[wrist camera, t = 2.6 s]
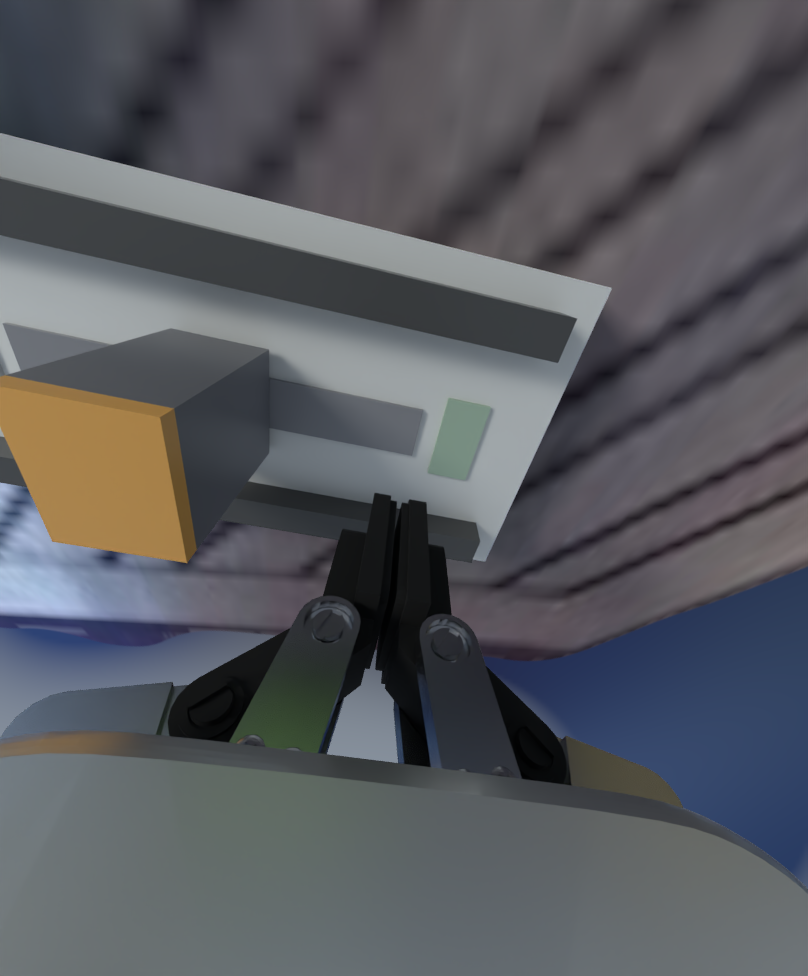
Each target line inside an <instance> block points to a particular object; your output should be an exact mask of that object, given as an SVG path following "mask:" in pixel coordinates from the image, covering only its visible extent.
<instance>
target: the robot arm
mask: <svg viewBox="0 0 808 976" xmlns="http://www.w3.org/2000/svg"><path fill="white" fill-rule="evenodd" d="M396 508H397V501H393V500H391V495H385V494H380V493H374V498H373V503H372V508H371V513H370V518H369V523H368V529H367V533H365V532H359V531H353V530H348V529H342V531H341V535H340V538H339V542H338V545H337V549H336V552H335V556H334V559H333V563H332V566H331V570H330V573H329V577H328V580H327V584H326V587H325V591H324V594H323V596H321V597H318V598H315V599H312V600H311V601H310V602H308V603H307V604H305V605H304V607H303V608H302V609H301V610H300V612H299V614H298V615H297V617H296V619H295V621H294V623H293V625H292V627H291V628H290V629H288V630H286V631H284V632H282V633H280V634H278V635H277V636H275V637H273V638H271V639H269V640H267V641H266V642H264V643H262V644H260V645H258V646H256V647H255V648H253V649H251V650H249V651H247V652H246V653H244V654H242V655H240V656H238V657H236V658H234V659H233V660H231V661H229V662H227V663H225V664H223V665H221V666H220V667H218V668H216V669H214V670H213V671H210V672H208V673H207V674H205V675H203V676H201V677H199V678H198V679H196V680H195V681H193V682H192V683H191V684H189V685H184V686H173V682H166V683H155V684H144V685H134V686H122V687H111V688H101V689H100V688H99V689H89V690H77V691H67V692H62V693H58V694H54V695H50V696H48V697H46V698H44V699H42V700H40V701H38V702H36V703H34V704H32V705H31V706H30V707H28V708H27V709H26V710H24V711H23V712H22V713H20V714H19V715H18V716H17V717H16V718H15V719H14V720H13V721H12V723H11V724H10V725H9V726H8V727H7V728H6V730H5V731H4V732H3V734H2V736H1V737H0V976H808V889H807V887H806V886H805V885H804V884H802V883H801V882H800V881H799V880H798V879H797V878H796V877H795V876H794V875H793V874H792V873H791V872H790V871H789V870H787V869H786V868H785V867H784V866H782V865H781V864H780V863H779V862H777V861H776V860H775V859H773V858H772V857H771V856H770V855H768V854H767V853H766V852H764V851H763V850H761V849H760V848H758V847H757V846H755V845H754V844H752V843H751V842H749V841H748V840H746V839H744V838H742V837H741V836H739V835H737V834H736V833H734V832H732V831H730V830H729V829H727V828H726V827H724V826H722V825H719V824H717V823H716V822H713V821H712V820H710V819H708V818H706V817H704V816H702V815H699V814H697V813H694V812H692V811H689V810H687V809H684V808H683V806H682V804H681V802H680V800H679V798H678V797H677V795H676V794H675V793H674V791H673V790H672V788H671V787H670V786H669V785H668V784H667V783H666V782H665V781H664V780H663V779H662V778H661V777H660V776H659V775H658V774H656V773H654V772H653V771H651V770H649V769H647V768H646V767H643V766H641V765H638V764H636V763H633V762H630V761H628V760H626V759H623V758H621V757H618V756H616V755H613V754H611V753H608V752H605V751H603V750H600V749H597V748H595V747H593V746H590V745H588V744H585V743H583V742H580V741H578V740H575V739H572V738H570V737H568V736H565V737H564V738H563V739H561V738H558V737H556V736H555V734H554V733H553V732H552V731H551V730H550V729H549V727H548V726H547V725H546V724H545V723H544V722H543V721H542V720H541V719H540V718H539V717H538V716H536V714H535V713H534V712H533V711H532V710H531V709H530V708H528V707H527V706H526V705H525V704H524V703H523V702H522V701H521V700H520V699H519V698H518V697H517V696H516V695H515V694H514V693H513V692H512V691H511V690H510V689H509V688H508V687H507V686H506V685H505V684H504V683H503V682H502V681H501V680H500V679H499V678H498V677H497V676H496V675H495V674H494V673H493V672H492V671H491V670H490V669H489V668H487V667H486V665H485V662H484V659H483V656H482V653H481V650H480V646H479V643H478V640H477V638H476V636H475V634H474V632H473V631H472V629H471V628H470V627H469V626H468V625H467V624H466V623H465V622H463V621H462V620H461V619H459V618H457V617H454V616H452V615H451V605H450V595H449V586H448V576H447V567H446V557H445V550H444V547H443V546H437V545H432V544H428V523H427V504H426V502H422V501H417V500H412V499H409V501H408V503H403V502H402V504H401V507H400V512H399V516H398V520H397V524H396V528H395V521H396ZM378 636H379V637H378ZM377 640H378V647H377V656H376V668H375V669H376V670H380V671H382V679H381V680H382V681H381V683H382V684H385V689H386V690H387V691H388V693H389V694H390V695H391V697H392V698H393V699H394V709H393V710H394V721H395V732H396V743H397V756H398V763H392V762H384V761H376V760H368V759H360V758H352V757H344V756H335V755H327V752H328V749H329V746H330V742H331V739H332V736H333V733H334V730H335V726H336V723H337V720H338V717H339V714H340V711H341V708H342V704H343V701H344V697H346V696H347V695H348V694H350V693H351V692H352V691H353V690H355V689H356V688H357V687H359V686H360V685H361V682H362V678H363V674H364V670H365V668H366V669H369V668H370V666H371V662H372V658H373V655H374V651H375V647H376V643H377Z"/></svg>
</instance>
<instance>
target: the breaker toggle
mask: <svg viewBox="0 0 808 976" xmlns="http://www.w3.org/2000/svg"><path fill="white" fill-rule="evenodd" d="M0 428H1V430H2V432H3V435H4V437H5V439H6V441H7V443H8V446H9V448H10V450H11V452H12V454H13V456H14V459H15V461H16V463H17V465H18V467H19V470H20V472H21V474H22V476H23V478H24V480H25V483H26V485H27V487H28V489H29V491H30V494H31V496H32V498H33V500H34V502H35V504H36V507H37V509H38V511H39V513H40V515H41V518H42V520H43V522H44V524H45V526H46V529H47V531H48V533H49V535H50V537H51V539H52V542H58V543H65V544H71V545H77V546H84V547H90V548H96V549H103V550H109V551H115V552H121V553H128V554H134V555H140V556H147V557H153V558H159V559H166V560H172V561H178V562H185V563H187V562H188V561H189V559H190V558H191V557H192V555H193V554H194V553H195V551H196V550H197V549H198V547H199V546H200V545H201V543H202V542H203V541H204V539H205V538H206V537H207V535H208V534H209V533H210V531H211V530H212V529H213V527H214V526H215V525H216V523H217V522H218V521H219V519H220V518H221V517H222V515H223V514H224V513H225V511H226V510H227V509H228V507H229V506H230V505H231V503H232V502H233V501H234V499H235V498H236V497H237V495H238V494H239V493H240V491H241V490H242V489H243V487H244V486H245V485H246V483H247V482H248V481H249V479H250V478H251V477H252V475H253V474H254V473H255V471H256V470H257V469H258V467H259V466H260V465H261V463H262V462H263V461H264V459H265V458H266V457H267V455H268V454H269V349H265V348H260V347H255V346H251V345H246V344H241V343H237V342H232V341H228V340H223V339H218V338H214V337H209V336H204V335H200V334H195V333H191V332H186V331H181V330H177V329H172V328H170V329H166V330H163V331H159V332H156V333H152V334H149V335H145V336H142V337H138V338H135V339H131V340H127V341H124V342H120V343H117V344H113V345H110V346H106V347H103V348H99V349H96V350H92V351H89V352H85V353H82V354H78V355H75V356H71V357H68V358H64V359H61V360H57V361H54V362H50V363H46V364H43V365H39V366H36V367H32V368H29V369H25V370H22V371H18V372H15V373H11V374H8V375H4V376H1V377H0Z"/></svg>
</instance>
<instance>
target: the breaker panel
mask: <svg viewBox="0 0 808 976" xmlns="http://www.w3.org/2000/svg"><path fill="white" fill-rule="evenodd" d="M611 289H612V288H610V287H606V286H602V285H598V284H594V283H590V282H586V281H582V280H578V279H574V278H570V277H566V276H562V275H558V274H555V273H551V272H547V271H543V270H539V269H535V268H531V267H527V266H523V265H519V264H515V263H511V262H507V261H503V260H499V259H495V258H491V257H487V256H484V255H480V254H476V253H472V252H468V251H464V250H460V249H456V248H452V247H448V246H444V245H440V244H436V243H432V242H428V241H424V240H420V239H416V238H413V237H409V236H405V235H401V234H397V233H393V232H389V231H385V230H381V229H377V228H373V227H369V226H365V225H361V224H357V223H353V222H349V221H345V220H341V219H338V218H334V217H330V216H326V215H322V214H318V213H314V212H310V211H306V210H302V209H298V208H294V207H290V206H286V205H282V204H278V203H274V202H270V201H267V200H263V199H259V198H255V197H251V196H247V195H243V194H239V193H235V192H231V191H227V190H223V189H219V188H215V187H211V186H207V185H203V184H199V183H196V182H192V181H188V180H184V179H180V178H176V177H172V176H168V175H164V174H160V173H156V172H152V171H148V170H144V169H140V168H136V167H132V166H128V165H125V164H121V163H117V162H113V161H109V160H105V159H101V158H97V157H93V156H89V155H85V154H81V153H77V152H73V151H69V150H65V149H61V148H57V147H54V146H50V145H46V144H42V143H38V142H34V141H30V140H26V139H22V138H18V137H14V136H10V135H6V134H2V133H0V377H1V376H4V375H8V374H11V373H15V372H18V371H22V370H25V369H29V368H32V367H36V366H39V365H43V364H46V363H50V362H54V361H57V360H61V359H64V358H68V357H71V356H75V355H78V354H82V353H85V352H89V351H92V350H96V349H99V348H103V347H106V346H110V345H113V344H117V343H120V342H124V341H127V340H131V339H135V338H138V337H142V336H145V335H149V334H152V333H156V332H159V331H163V330H166V329H170V328H172V329H177V330H181V331H186V332H191V333H195V334H200V335H204V336H209V337H214V338H218V339H223V340H228V341H232V342H237V343H241V344H246V345H251V346H255V347H260V348H265V349H269V454H268V455H267V457H266V458H265V459H264V461H263V462H262V463H261V465H260V466H259V467H258V469H257V470H256V471H255V473H254V474H253V475H252V477H251V478H250V479H249V481H248V482H247V483H246V485H245V486H244V487H243V489H242V490H241V491H240V493H239V494H238V495H237V497H236V498H235V499H234V501H233V502H232V503H231V505H230V506H229V507H228V509H227V510H226V511H225V513H224V514H223V515H222V517H221V518H220V519H219V520H224V521H230V522H235V523H241V524H247V525H253V526H259V527H265V528H271V529H276V530H282V531H288V532H294V533H300V534H306V535H312V536H318V537H323V538H329V539H335V540H339V538H340V535H341V531H342V529H348V530H353V531H359V532H365V533H367V529H368V523H369V518H370V513H371V508H372V503H373V498H374V493H380V494H385V495H391V500H393V501H397V508H396V521H395V528H396V524H397V520H398V516H399V512H400V507H401V504H402V502H403V503H408V501H409V499H412V500H417V501H422V502H426V504H427V523H428V544H432V545H437V546H443V547H444V550H445V557H446V558H447V559H452V560H458V561H464V562H470V563H471V562H472V560H479V561H486V559H487V556H488V554H489V552H490V550H491V548H492V546H493V544H494V541H495V539H496V537H497V535H498V533H499V531H500V528H501V526H502V524H503V522H504V520H505V518H506V516H507V513H508V511H509V509H510V507H511V505H512V503H513V500H514V498H515V496H516V494H517V492H518V490H519V488H520V485H521V483H522V481H523V479H524V477H525V475H526V472H527V470H528V468H529V466H530V464H531V462H532V460H533V457H534V455H535V453H536V451H537V449H538V447H539V444H540V442H541V440H542V438H543V436H544V434H545V432H546V429H547V427H548V425H549V423H550V421H551V419H552V416H553V414H554V412H555V410H556V408H557V406H558V404H559V401H560V399H561V397H562V395H563V393H564V391H565V388H566V386H567V384H568V382H569V380H570V378H571V376H572V373H573V371H574V369H575V367H576V365H577V363H578V360H579V358H580V356H581V354H582V352H583V350H584V348H585V345H586V343H587V341H588V339H589V337H590V335H591V332H592V330H593V328H594V326H595V324H596V322H597V320H598V317H599V315H600V313H601V311H602V309H603V307H604V304H605V302H606V300H607V298H608V296H609V294H610V292H611ZM0 482H1V483H7V484H12V485H18V486H24V487H27V485H26V483H25V480H24V478H23V476H22V474H21V472H20V470H19V467H18V465H17V463H16V461H15V459H14V456H13V454H12V452H11V450H10V448H9V446H8V443H7V441H6V439H5V437H4V435H3V432H2V430H1V428H0Z"/></svg>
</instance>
